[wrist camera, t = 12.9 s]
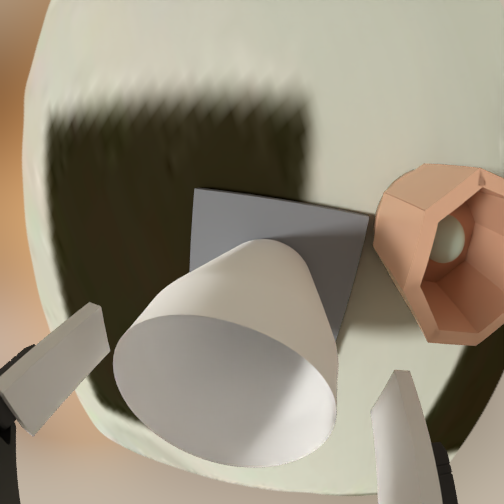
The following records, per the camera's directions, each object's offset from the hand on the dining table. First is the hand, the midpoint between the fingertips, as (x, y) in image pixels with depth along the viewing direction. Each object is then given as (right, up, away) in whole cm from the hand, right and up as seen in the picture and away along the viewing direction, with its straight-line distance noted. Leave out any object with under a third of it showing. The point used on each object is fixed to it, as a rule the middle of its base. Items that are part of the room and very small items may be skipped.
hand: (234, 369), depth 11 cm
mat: (+2, +3, +10) cm, 11 cm away
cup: (+2, +3, +9) cm, 10 cm away
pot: (+13, +7, +6) cm, 16 cm away
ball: (+13, +6, +4) cm, 15 cm away
